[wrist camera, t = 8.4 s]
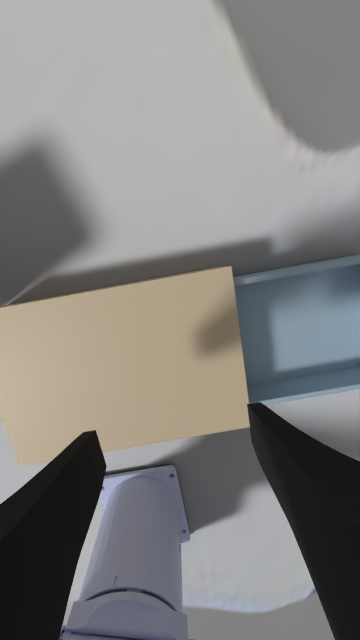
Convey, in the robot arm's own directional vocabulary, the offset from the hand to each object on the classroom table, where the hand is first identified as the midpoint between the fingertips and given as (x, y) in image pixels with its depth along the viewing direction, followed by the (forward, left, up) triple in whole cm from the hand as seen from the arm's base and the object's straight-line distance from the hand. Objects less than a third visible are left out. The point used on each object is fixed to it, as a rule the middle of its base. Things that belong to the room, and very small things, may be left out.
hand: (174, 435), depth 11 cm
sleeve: (+1, +4, -10) cm, 11 cm away
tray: (+1, -8, -10) cm, 13 cm away
